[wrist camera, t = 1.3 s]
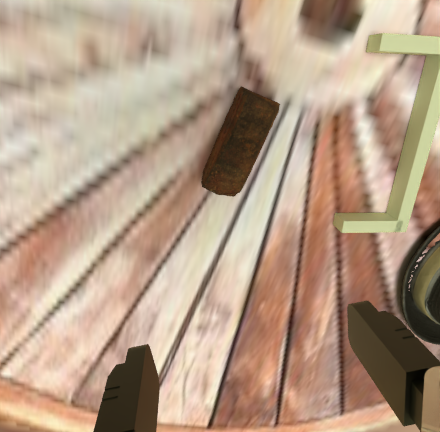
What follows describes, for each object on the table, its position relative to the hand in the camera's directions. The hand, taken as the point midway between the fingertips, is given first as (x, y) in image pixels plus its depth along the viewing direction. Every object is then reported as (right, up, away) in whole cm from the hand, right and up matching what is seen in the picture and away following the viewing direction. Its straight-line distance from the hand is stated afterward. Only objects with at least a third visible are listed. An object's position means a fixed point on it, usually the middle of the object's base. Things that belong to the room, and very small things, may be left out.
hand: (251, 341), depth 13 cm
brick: (0, +13, +24) cm, 27 cm away
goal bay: (+18, +14, +25) cm, 34 cm away
